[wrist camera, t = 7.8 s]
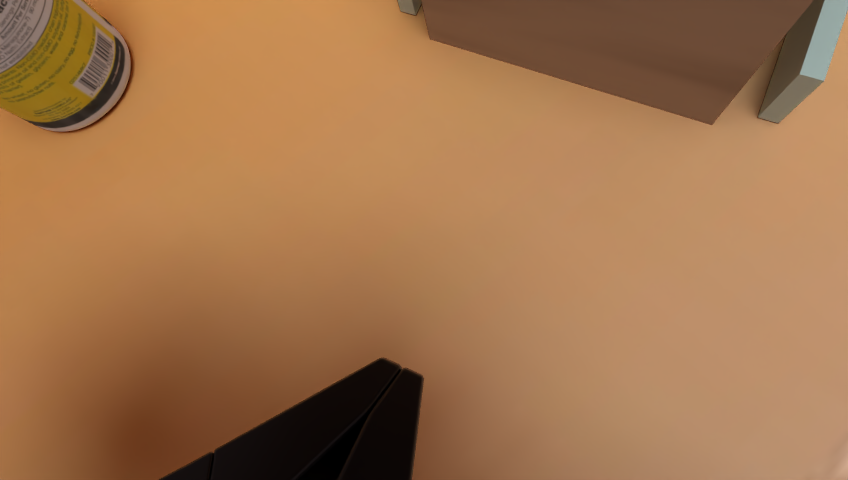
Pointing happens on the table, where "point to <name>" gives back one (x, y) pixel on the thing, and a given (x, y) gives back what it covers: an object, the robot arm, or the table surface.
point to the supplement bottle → (59, 63)
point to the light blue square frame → (785, 55)
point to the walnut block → (626, 43)
